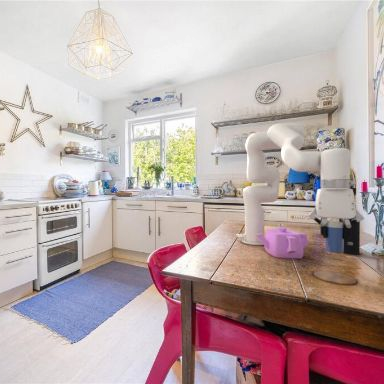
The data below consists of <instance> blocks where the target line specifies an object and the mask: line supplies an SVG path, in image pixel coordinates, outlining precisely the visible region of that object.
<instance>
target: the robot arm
mask: <svg viewBox="0 0 384 384" xmlns="http://www.w3.org/2000/svg"><path fill="white" fill-rule="evenodd" d="M305 132H306V131H305V128H304V126H303V125H302V124H300V123H297V122H285V123H284V122H280V123H274V124H273V125H271V126H270V127H269V128H268V129H267V131H257V132H253V133H251V134H249V136H248V137H247V138H246V141H245V150H246V155H247V164H246V179H247V182H249V183H251V184H263V185H248V186H246V187H244V189H242V198H243V199H242V200H243V205H244V233H236V234H235V237H236V238H238V239H241V243H243V244H246V245H251V246H264V244H263V243H262V242H261V240H260V239H259V237H258V236H257V234H260V233H261V234H262V235H263V236H264V237H265V209H264V207H263V206H262V204H264V203H265V204H267V203H274V202H276V201H277V200H278V198H279V194H280V193H279V192H280V181H281V172H280V170H279V167H277V166H276V165H271V164H269V165H267V164H266V159H267V158H266V155H265V152H264V151H263V150H278V149H281V151H280V153H281V154H280V156H281V160H282V162H283V163H284V164H285V165H286V166H287V167H289V168H290V169H291V170H293V171H294V172H300V173H309V172H310V173H311V172H313V173H314V172H315V173H316V172H320V188H318V189H317V190H316V193H315V194H316V195H315V206H314V208H313V209H312V211H310V213H309V214H308V216H307V217H308V218H310V219H311V220H313V221H314V222H316V223H317V224H318V225H319V226H320V236H322V238H323V239H326V238H327V227H326V222H327V220H328V219H337V220H338V219H340V220H341V219H343V222H344V226H343V227H344V239H345V240H347V237H349V236H350V228H351V226H353V225H354V224H356V223H357V222H359V221H360V222H361V221H364V220H365V217H364V216H363V215H362V214H361V213H360V212H359V211H358V210H357V205H356V199H355V195H354V193H353V189H350V188H352V186H356V185H357V181H356V180H355V181H354V180H351V150H350V149H349V148H347V147H336V148H327V149H324V150H318V151H317V150H309V151H308V150H307V151H302V150H301V149H302V148H303V146H304V144H305ZM264 184H265V185H264ZM355 205H356V206H355ZM316 216H317V217H316ZM355 216H356V218H355ZM318 217H319V218H320V219H319V218H318ZM352 218H354V219H352ZM349 219H352V220H350V221H349Z"/></svg>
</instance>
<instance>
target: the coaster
mask: <svg viewBox="0 0 384 384" xmlns="http://www.w3.org/2000/svg"><path fill="white" fill-rule="evenodd" d="M313 276H314V277H315V278H317V279H319V280H321V281H324V282H327V283H331V284H336V285H337V284H338V285H346V286H348V285H349V286H351V285H355V284H356V283H357V279H355V278H354V277H353V276H350V275H347V274H344V273H340V272H337V271H329V270H317V271H314V272H313Z"/></svg>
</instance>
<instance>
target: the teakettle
mask: <svg viewBox="0 0 384 384" xmlns="http://www.w3.org/2000/svg"><path fill="white" fill-rule="evenodd" d="M257 236H258V237H259V239H260V240H261V242H262V243H263V244H264V245H263V248H264V250H265V252H267V254H269V255H270V256H271V257H274V258H277V259H298V260H299V259H303V257H304V249H305V248H307V247H309V242H308V241H309V240H308V234H307V233H305V232H297V231H294V230H291V229H288V227H284V226H279V227H278V228H275V229H274V228H270V229H269V228H268V229H266V230H265V234H264V236H263V235H262V234H261V233H260V234H257Z"/></svg>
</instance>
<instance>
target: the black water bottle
mask: <svg viewBox="0 0 384 384" xmlns="http://www.w3.org/2000/svg"><path fill="white" fill-rule="evenodd" d="M350 189H353V193H354V196H357V188H356V187H350ZM355 206H356V207H357V205H356V204H355ZM355 218H356V216H355ZM352 219H354V218H352ZM352 219H349V221H350V220H352ZM340 222H342V223H343V226H344V222H343V219H340ZM360 236H361V221H359V222H357V223H356V224H354V225H353V226H351V228H350V236H349V237H347V240H345V239H344V250H343V253H342V254H347V255H353V256H354V255H355V256H356V255H360V254H361V252H360V251H361V249H360V248H361V246H360V245H361V244H360V243H361V237H360Z"/></svg>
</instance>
